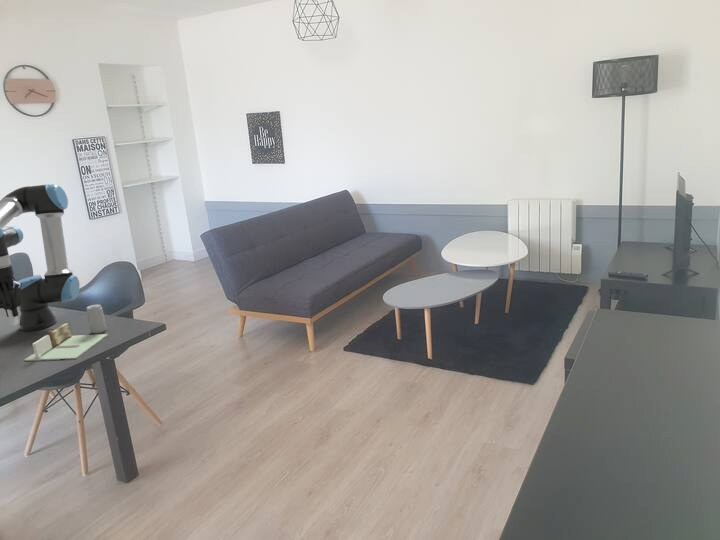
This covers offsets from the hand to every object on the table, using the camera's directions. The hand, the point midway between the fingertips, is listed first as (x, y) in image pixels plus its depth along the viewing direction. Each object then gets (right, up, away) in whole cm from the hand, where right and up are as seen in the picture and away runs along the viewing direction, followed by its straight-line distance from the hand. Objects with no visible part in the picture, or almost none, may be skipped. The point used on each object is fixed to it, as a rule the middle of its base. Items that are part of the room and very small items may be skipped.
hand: (14, 324), depth 220 cm
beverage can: (+21, -6, +27) cm, 34 cm away
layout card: (+15, -11, +11) cm, 22 cm away
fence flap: (+9, -12, +5) cm, 16 cm away
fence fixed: (+10, -10, +16) cm, 21 cm away
